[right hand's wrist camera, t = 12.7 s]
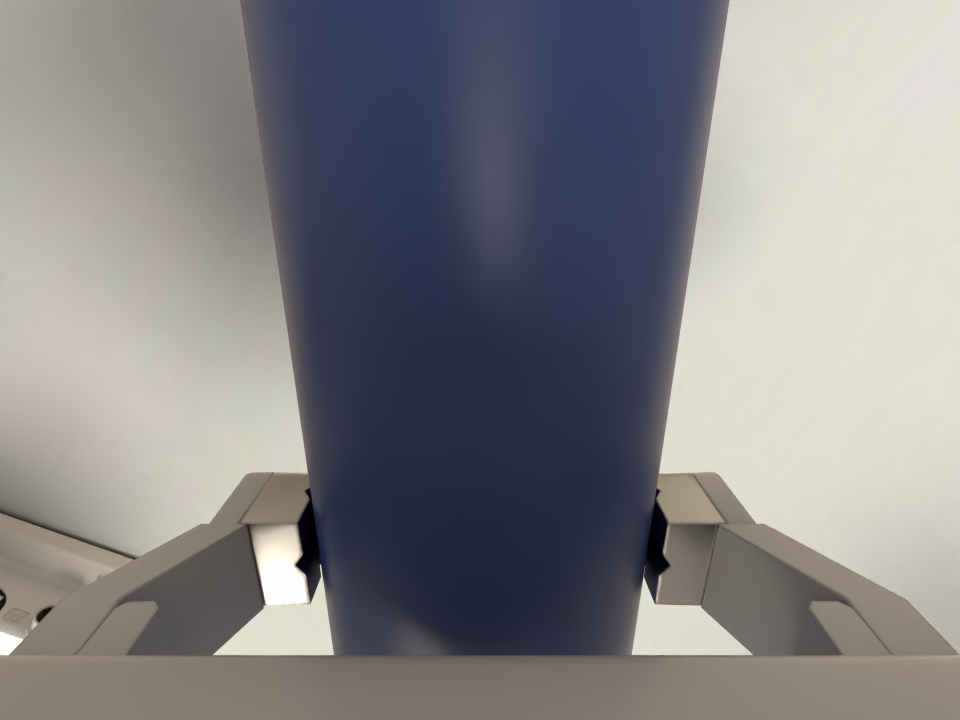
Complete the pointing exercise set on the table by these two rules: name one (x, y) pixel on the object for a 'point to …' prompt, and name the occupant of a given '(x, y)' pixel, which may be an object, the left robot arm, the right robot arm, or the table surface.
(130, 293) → the table surface
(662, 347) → the rod
